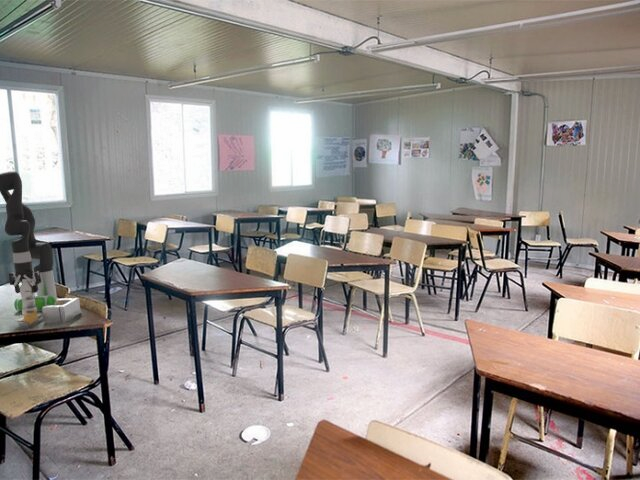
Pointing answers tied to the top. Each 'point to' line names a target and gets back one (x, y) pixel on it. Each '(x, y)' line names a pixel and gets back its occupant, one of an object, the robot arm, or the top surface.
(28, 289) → the plastic bottle
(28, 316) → the orange rounded block
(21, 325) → the small white box
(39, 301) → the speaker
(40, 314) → the mat
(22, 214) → the robot arm
